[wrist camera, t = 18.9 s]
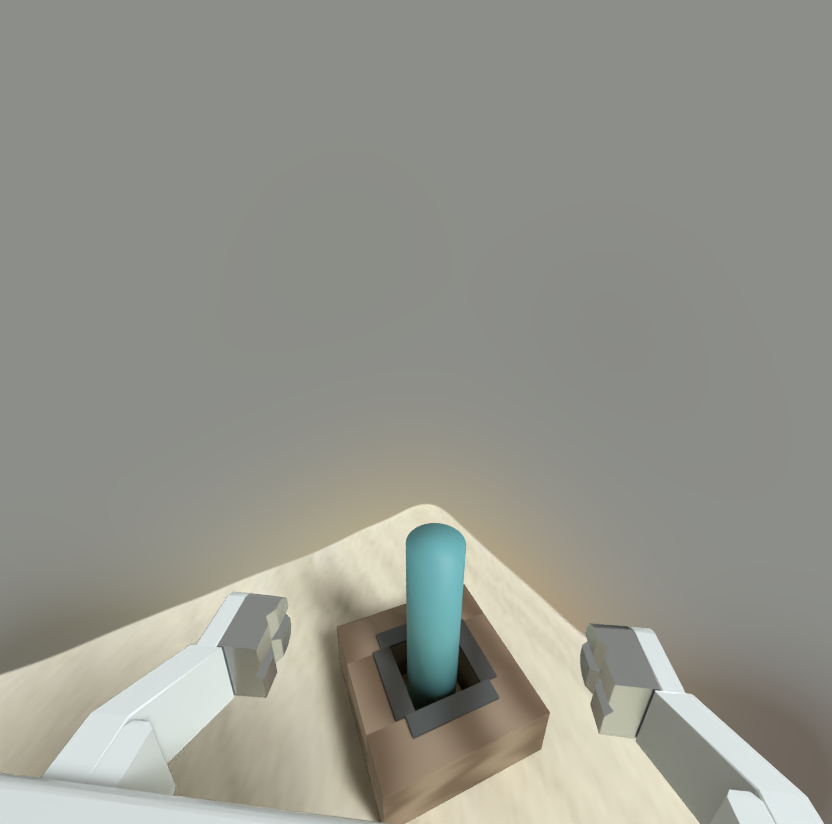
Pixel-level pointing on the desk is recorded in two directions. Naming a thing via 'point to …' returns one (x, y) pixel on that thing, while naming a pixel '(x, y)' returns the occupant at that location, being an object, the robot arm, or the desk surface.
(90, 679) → the desk surface
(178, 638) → the desk surface
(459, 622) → the peg
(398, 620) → the socket block
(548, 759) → the desk surface
